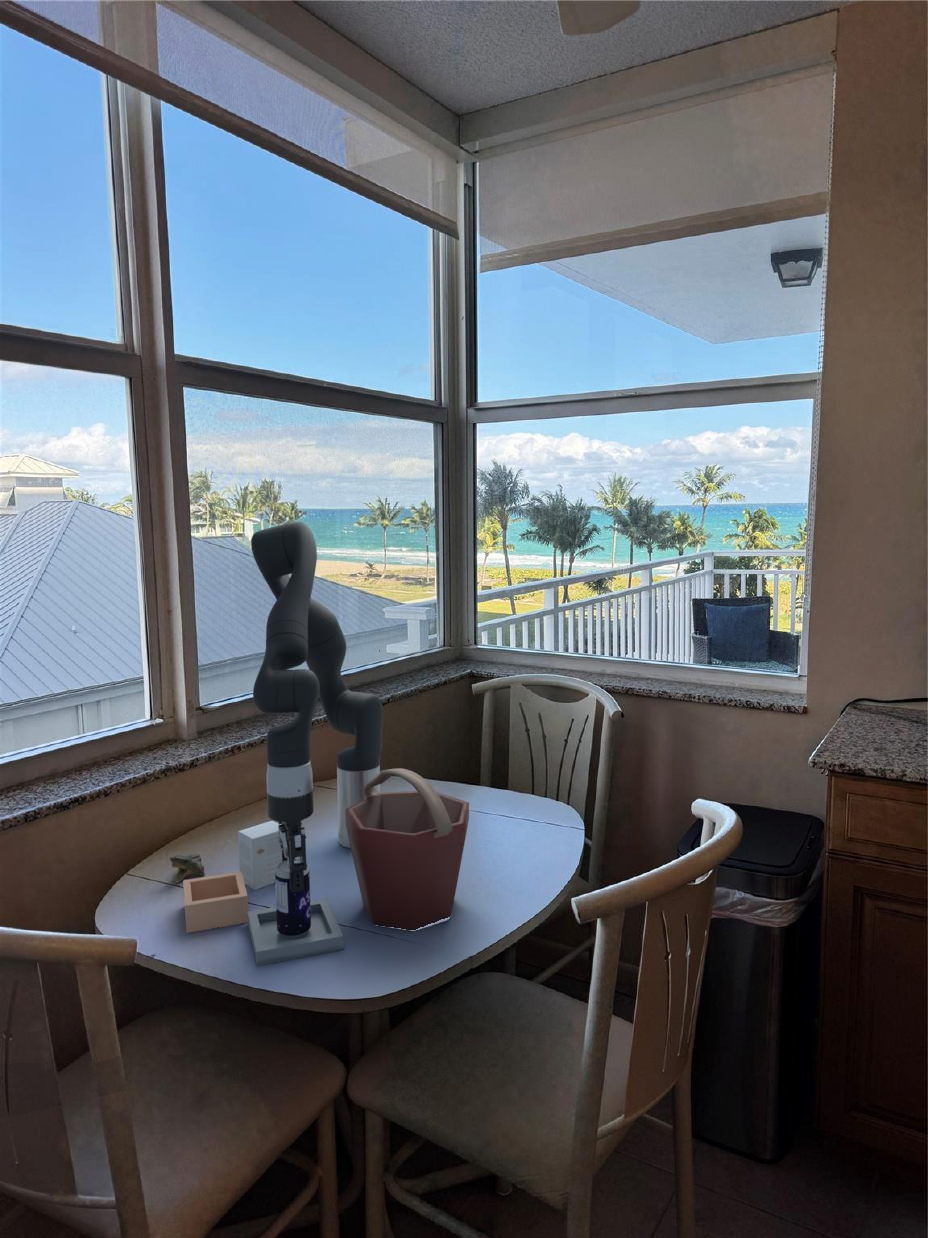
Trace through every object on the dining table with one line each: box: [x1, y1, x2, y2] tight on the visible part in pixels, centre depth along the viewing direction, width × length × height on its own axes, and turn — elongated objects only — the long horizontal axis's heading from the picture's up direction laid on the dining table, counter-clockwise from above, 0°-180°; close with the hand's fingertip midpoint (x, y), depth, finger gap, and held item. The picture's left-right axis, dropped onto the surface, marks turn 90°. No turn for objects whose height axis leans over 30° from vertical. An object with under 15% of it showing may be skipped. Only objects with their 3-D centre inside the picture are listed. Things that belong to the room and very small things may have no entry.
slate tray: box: [247, 898, 345, 967], centre depth 140 cm, size 14×14×2 cm
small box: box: [237, 820, 284, 891], centre depth 161 cm, size 8×6×10 cm
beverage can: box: [274, 858, 311, 938], centre depth 139 cm, size 6×6×12 cm
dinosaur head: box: [169, 853, 206, 884], centre depth 162 cm, size 8×6×7 cm
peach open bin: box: [182, 871, 249, 934], centre depth 148 cm, size 10×10×5 cm
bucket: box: [345, 767, 470, 930], centre depth 149 cm, size 24×22×25 cm
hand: (293, 880), depth 139 cm, fingers open, 8 cm apart
